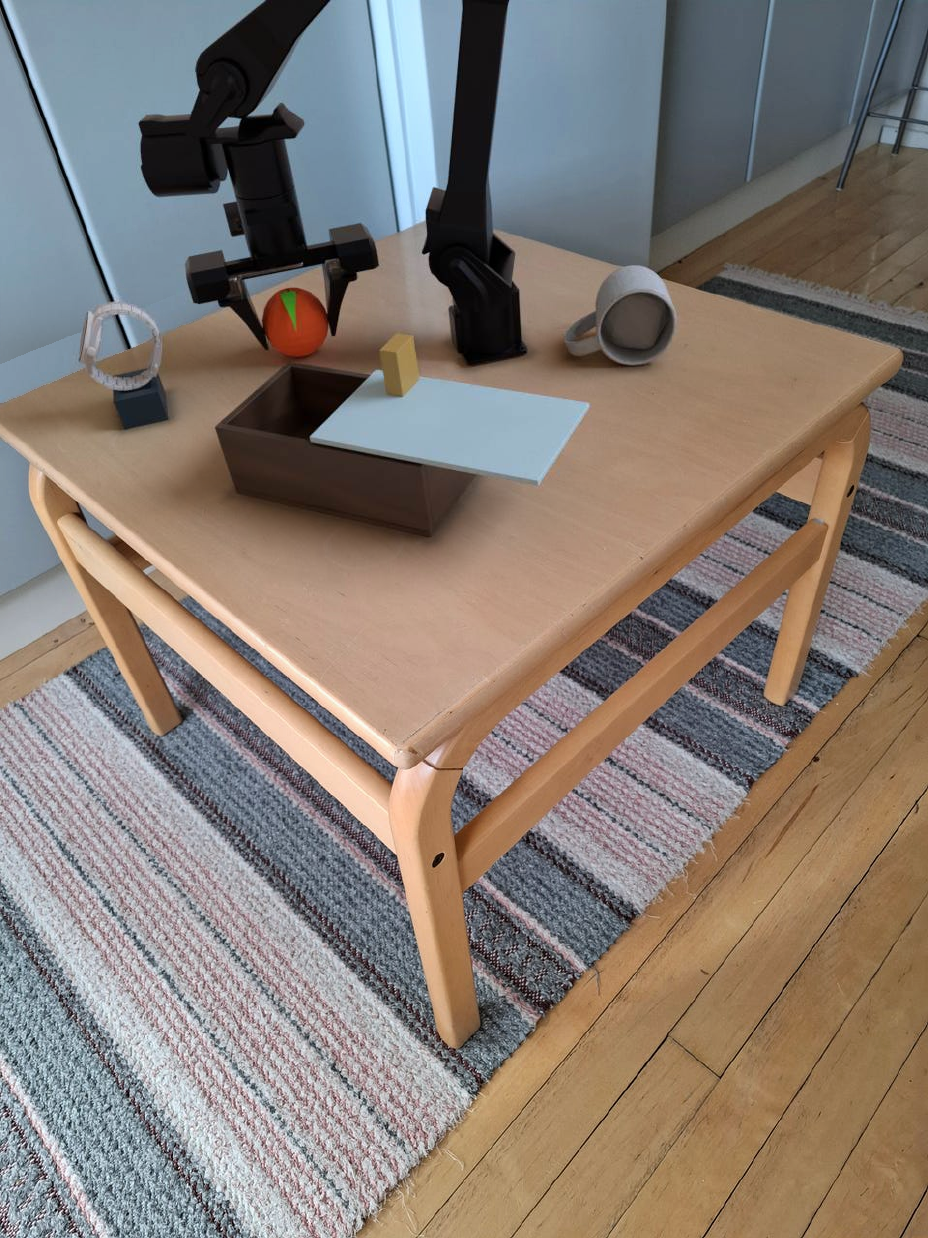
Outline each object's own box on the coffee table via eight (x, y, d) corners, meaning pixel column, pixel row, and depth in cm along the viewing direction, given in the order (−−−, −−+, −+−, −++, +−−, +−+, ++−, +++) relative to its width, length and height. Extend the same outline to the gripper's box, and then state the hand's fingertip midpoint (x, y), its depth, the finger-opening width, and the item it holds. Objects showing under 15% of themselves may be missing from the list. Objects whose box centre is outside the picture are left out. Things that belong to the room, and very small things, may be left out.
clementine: (339, 366, 95) (325, 301, 90) (273, 378, 94) (256, 313, 89) (330, 332, 101) (317, 269, 96) (268, 344, 100) (252, 281, 95)
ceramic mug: (664, 324, 95) (667, 251, 89) (675, 363, 89) (679, 287, 84) (562, 333, 96) (560, 261, 90) (566, 372, 90) (564, 298, 85)
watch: (104, 407, 93) (61, 305, 86) (182, 389, 94) (147, 287, 87) (104, 434, 89) (60, 330, 82) (186, 415, 90) (149, 311, 83)
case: (304, 425, 87) (288, 361, 82) (488, 460, 80) (482, 391, 75) (236, 493, 80) (214, 426, 75) (430, 537, 73) (420, 467, 68)
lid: (377, 374, 79) (368, 325, 76) (589, 408, 72) (589, 355, 68) (310, 442, 72) (298, 391, 69) (538, 486, 65) (535, 432, 62)
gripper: (346, 146, 92) (371, 294, 103) (163, 180, 90) (208, 327, 101) (366, 180, 85) (391, 336, 95) (166, 218, 82) (215, 373, 93)
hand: (300, 341), depth 96 cm, fingers closed on clementine, 7 cm apart
